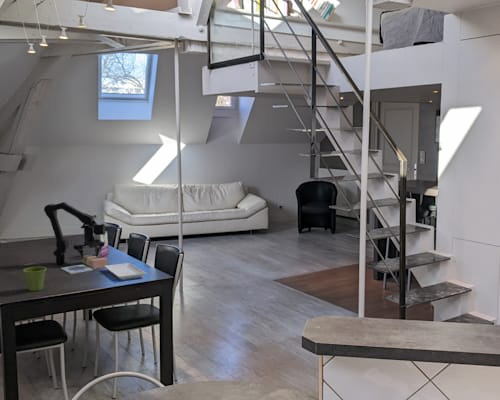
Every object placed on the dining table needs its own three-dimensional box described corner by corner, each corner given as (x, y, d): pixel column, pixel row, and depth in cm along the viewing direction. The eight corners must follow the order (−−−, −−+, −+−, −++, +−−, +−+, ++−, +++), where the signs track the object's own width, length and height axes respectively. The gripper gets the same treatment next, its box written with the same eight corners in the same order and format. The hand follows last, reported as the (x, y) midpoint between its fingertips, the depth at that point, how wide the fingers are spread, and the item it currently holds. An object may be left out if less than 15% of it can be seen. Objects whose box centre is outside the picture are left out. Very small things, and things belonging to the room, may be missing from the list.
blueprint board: (61, 269, 344) (61, 267, 344) (82, 265, 352) (82, 264, 352) (70, 273, 331) (70, 272, 331) (92, 270, 340) (92, 268, 340)
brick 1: (82, 263, 360) (82, 255, 360) (91, 261, 364) (90, 254, 364) (88, 265, 353) (88, 258, 352) (97, 264, 357) (97, 256, 356)
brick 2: (93, 269, 344) (93, 261, 344) (89, 267, 349) (89, 259, 348) (108, 266, 351) (108, 258, 350) (104, 264, 355) (104, 257, 355)
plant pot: (44, 292, 293) (43, 271, 292) (21, 292, 292) (19, 272, 291) (50, 286, 305) (49, 266, 303) (28, 286, 304) (27, 266, 302)
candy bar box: (102, 254, 386) (101, 231, 384) (108, 254, 385) (107, 231, 383) (94, 257, 375) (93, 234, 373) (101, 258, 374) (100, 234, 372)
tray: (130, 267, 348) (130, 262, 348) (147, 278, 321) (147, 272, 321) (103, 271, 340) (103, 265, 339) (118, 282, 313) (118, 276, 312)
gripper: (79, 238, 344) (80, 262, 346) (107, 234, 356) (108, 258, 358) (72, 235, 353) (73, 259, 355) (100, 232, 364) (101, 255, 366)
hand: (89, 258), depth 358 cm, fingers open, 9 cm apart
